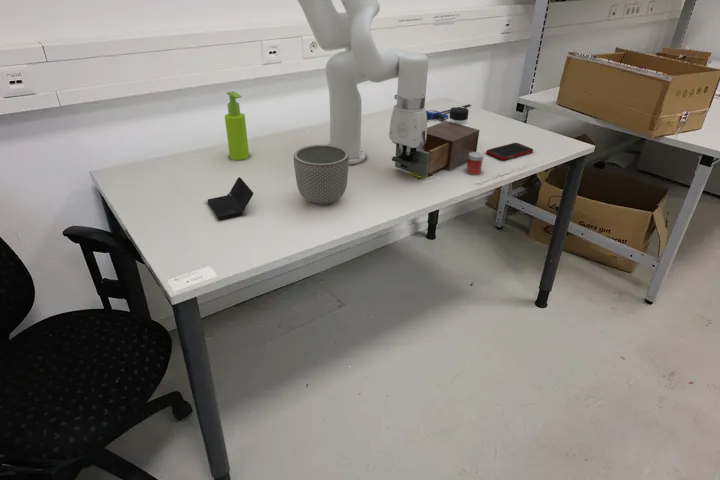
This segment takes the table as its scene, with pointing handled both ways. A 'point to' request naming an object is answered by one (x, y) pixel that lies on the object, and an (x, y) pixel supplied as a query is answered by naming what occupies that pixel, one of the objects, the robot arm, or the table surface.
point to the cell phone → (509, 151)
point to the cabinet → (455, 141)
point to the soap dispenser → (236, 129)
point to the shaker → (474, 163)
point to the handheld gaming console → (232, 201)
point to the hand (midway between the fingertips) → (406, 166)
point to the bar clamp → (439, 114)
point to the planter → (321, 173)
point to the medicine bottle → (459, 116)
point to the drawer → (425, 158)
